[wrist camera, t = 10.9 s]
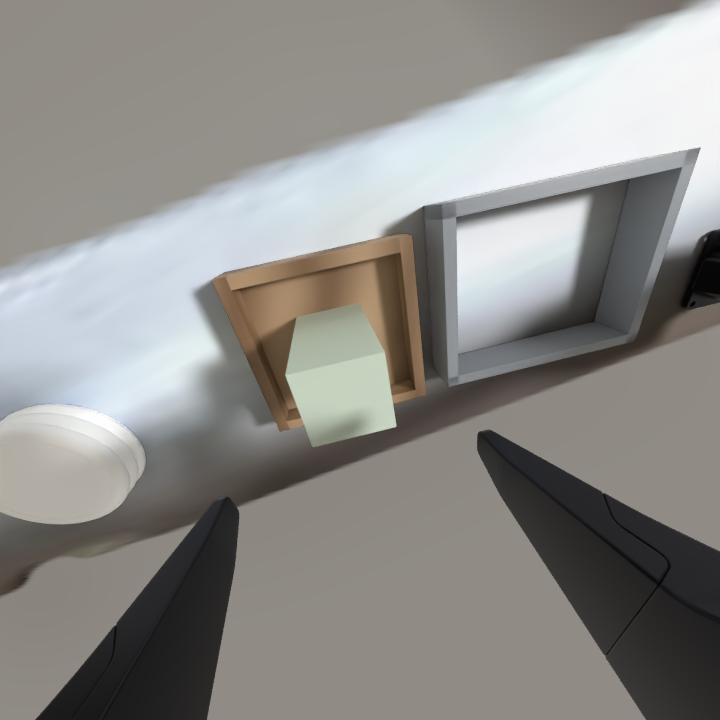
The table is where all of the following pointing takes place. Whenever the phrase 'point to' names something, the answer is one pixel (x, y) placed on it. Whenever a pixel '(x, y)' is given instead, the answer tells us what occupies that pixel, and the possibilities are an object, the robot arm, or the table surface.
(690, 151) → the grey bin
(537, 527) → the robot arm
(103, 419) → the white round short cylinder
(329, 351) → the sage block
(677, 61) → the table surface
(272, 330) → the wooden tray
